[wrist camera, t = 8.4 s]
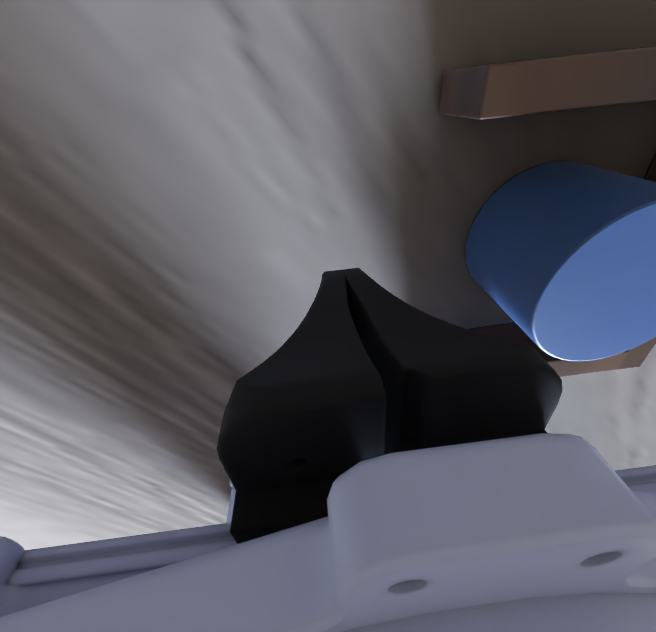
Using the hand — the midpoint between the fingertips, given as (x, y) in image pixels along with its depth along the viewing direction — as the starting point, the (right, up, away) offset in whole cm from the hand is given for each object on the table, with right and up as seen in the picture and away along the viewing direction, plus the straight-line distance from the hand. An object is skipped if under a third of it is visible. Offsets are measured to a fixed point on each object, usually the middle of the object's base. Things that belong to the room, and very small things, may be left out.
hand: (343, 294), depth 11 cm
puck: (+9, +3, +2) cm, 9 cm away
